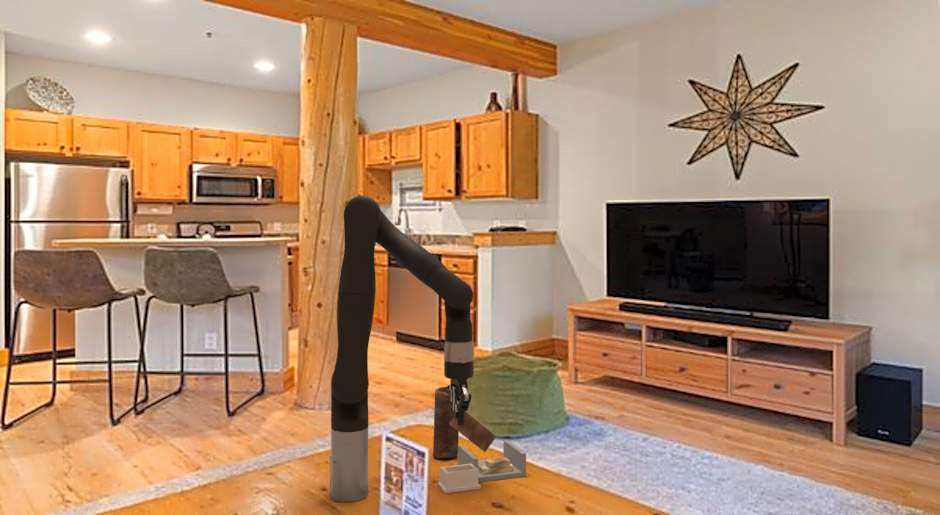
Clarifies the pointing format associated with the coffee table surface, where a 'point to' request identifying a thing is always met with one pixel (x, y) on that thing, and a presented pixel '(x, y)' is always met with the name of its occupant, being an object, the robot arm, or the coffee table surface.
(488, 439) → the slat
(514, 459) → the rack
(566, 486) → the coffee table surface
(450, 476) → the holder
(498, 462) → the offcut short
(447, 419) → the brown log
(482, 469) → the block
